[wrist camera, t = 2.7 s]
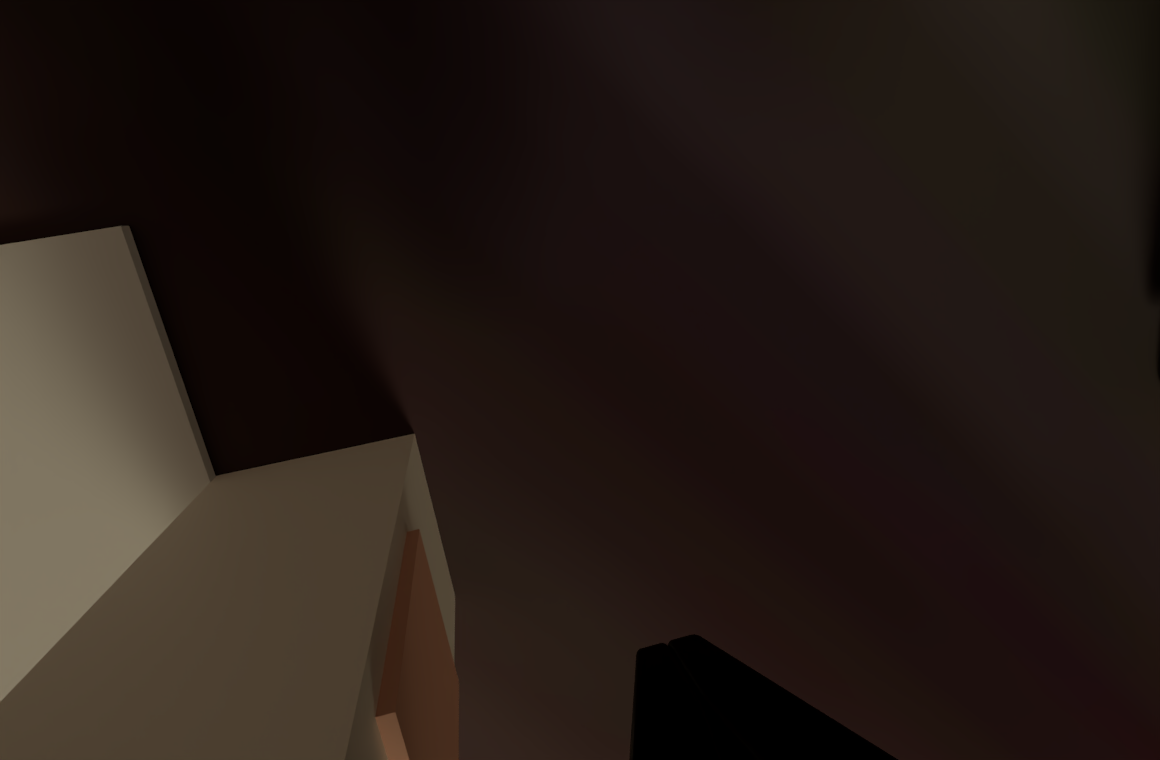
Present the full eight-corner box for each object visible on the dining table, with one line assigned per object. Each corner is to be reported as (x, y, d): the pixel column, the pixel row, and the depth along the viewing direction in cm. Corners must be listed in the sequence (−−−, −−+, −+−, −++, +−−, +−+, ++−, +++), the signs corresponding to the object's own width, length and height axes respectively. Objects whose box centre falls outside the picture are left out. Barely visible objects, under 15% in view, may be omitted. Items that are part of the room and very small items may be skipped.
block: (424, 431, 13) (360, 803, 5) (463, 593, 15) (469, 1134, 6) (216, 475, 13) (-271, 984, 4) (273, 640, 14) (-23, 1311, 5)
